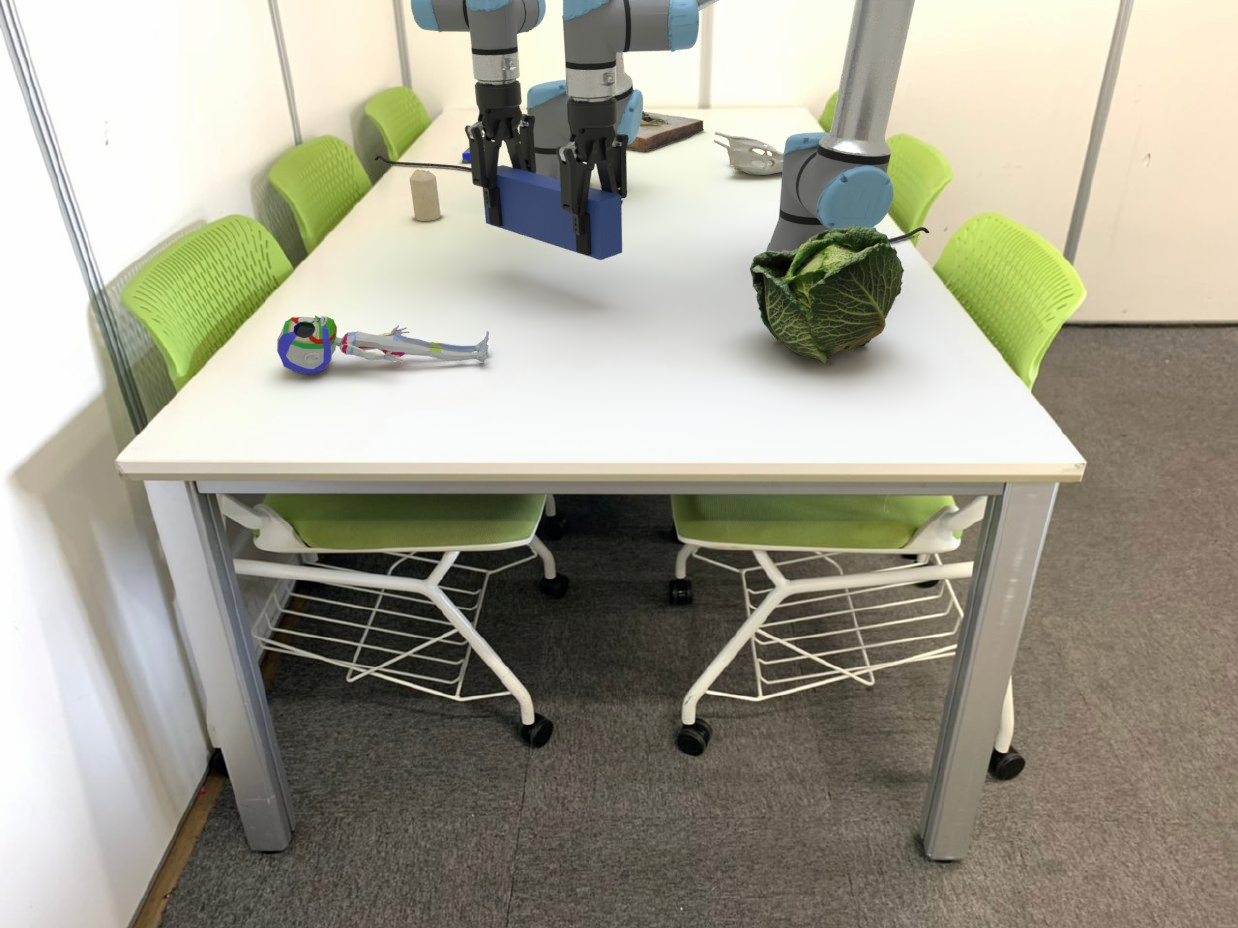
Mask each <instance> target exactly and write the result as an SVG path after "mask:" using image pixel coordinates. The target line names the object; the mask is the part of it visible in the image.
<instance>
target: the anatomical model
mask: <svg viewBox="0 0 1238 928" xmlns="http://www.w3.org/2000/svg"><path fill="white" fill-rule="evenodd" d="M714 135H715V136H719V137H723V138H725V139H727V140H728V144H729V145H727V144H724V142H721V141H719V140H716V139H713V142H714V143H715V144H717V145H719V146H721V147H723V148H725V149H726V150H727V156H728V159H729V166H731V167H733V168H734V170H736V171H737V172H744V173H746V174H748V175H750V176H751V175H752V176H767V175H773V174H777V173H782V170H783V153H784V152H780V151H778V150H777V149H776V148H775V147H774V146H772V145H770V144H769V143H765V142H764V141H760V140H758V139H754V138H751V137H745V136H738V135H737V136H734V135H731V134H730V135H729V134H726V133H722V132H718V131H715V132H714ZM754 150H762V151H763V152H764V153H762V154H761V153H758V152H756V151H754ZM768 152H770V154H768Z"/></svg>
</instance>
